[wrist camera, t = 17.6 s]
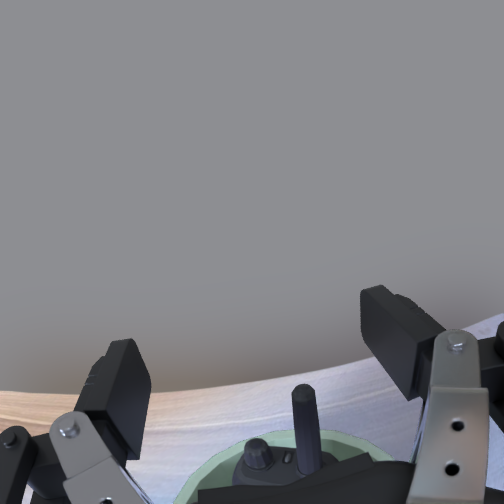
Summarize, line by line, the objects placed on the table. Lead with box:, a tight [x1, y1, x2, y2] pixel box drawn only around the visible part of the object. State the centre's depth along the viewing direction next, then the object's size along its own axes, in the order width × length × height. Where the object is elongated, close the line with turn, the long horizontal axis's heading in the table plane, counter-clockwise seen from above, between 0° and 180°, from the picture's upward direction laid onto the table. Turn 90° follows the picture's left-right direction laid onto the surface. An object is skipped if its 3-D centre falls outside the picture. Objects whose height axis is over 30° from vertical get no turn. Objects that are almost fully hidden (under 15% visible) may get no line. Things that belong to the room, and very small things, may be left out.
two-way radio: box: [232, 384, 339, 486], centre depth 11 cm, size 6×4×15 cm
